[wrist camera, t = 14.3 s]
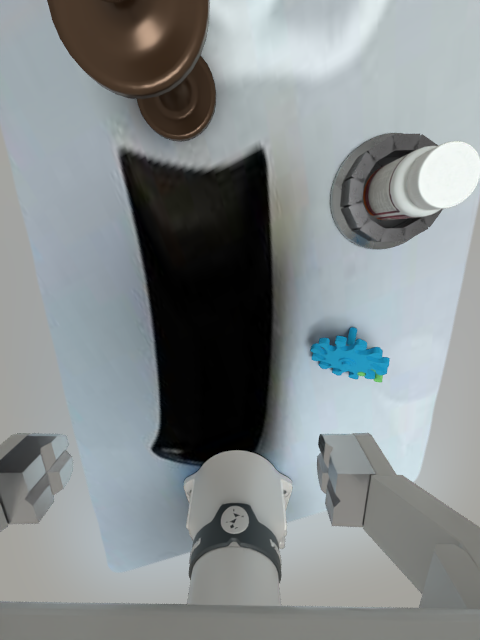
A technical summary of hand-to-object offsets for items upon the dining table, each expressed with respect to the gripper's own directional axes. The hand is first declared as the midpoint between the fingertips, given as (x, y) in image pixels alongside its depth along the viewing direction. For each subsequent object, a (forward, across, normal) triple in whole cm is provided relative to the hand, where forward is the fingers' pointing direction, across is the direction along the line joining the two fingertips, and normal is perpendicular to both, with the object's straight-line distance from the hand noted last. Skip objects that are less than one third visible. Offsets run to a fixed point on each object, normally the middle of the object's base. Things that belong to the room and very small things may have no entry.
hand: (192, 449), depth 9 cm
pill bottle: (+30, +19, +11) cm, 37 cm away
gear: (+31, +16, -10) cm, 37 cm away
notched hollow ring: (+31, +19, +11) cm, 38 cm away
